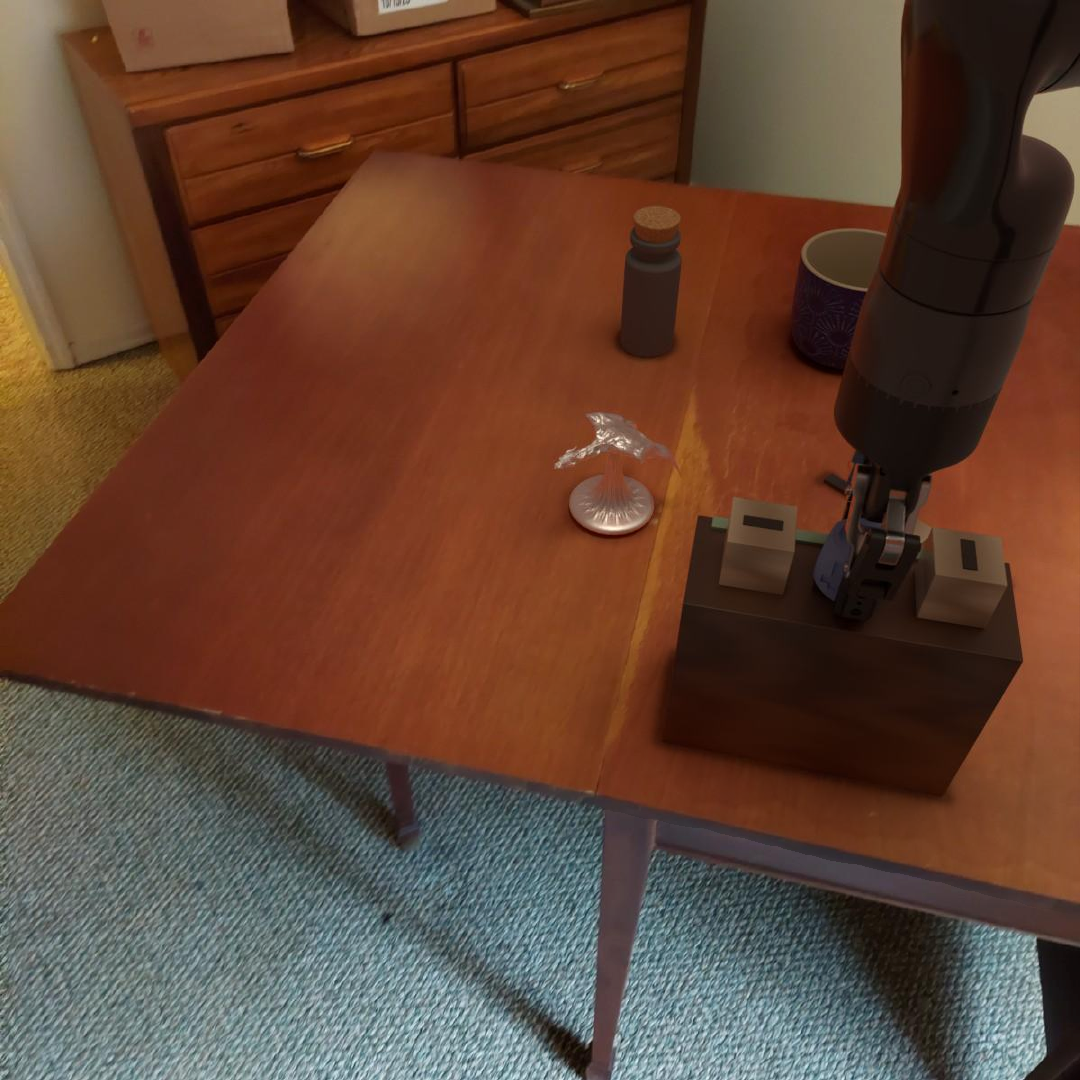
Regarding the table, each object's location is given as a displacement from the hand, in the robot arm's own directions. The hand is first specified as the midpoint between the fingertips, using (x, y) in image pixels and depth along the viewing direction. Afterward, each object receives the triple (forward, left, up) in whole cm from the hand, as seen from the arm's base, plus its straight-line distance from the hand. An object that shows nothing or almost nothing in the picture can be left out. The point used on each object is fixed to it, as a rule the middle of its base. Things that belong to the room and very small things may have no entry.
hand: (851, 579), depth 60 cm
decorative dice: (0, 0, -1) cm, 1 cm away
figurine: (+26, -5, -17) cm, 31 cm away
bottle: (+42, -27, -17) cm, 53 cm away
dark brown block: (0, 0, -16) cm, 16 cm away
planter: (+27, -42, -17) cm, 53 cm away
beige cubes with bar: (+6, -21, -16) cm, 27 cm away
